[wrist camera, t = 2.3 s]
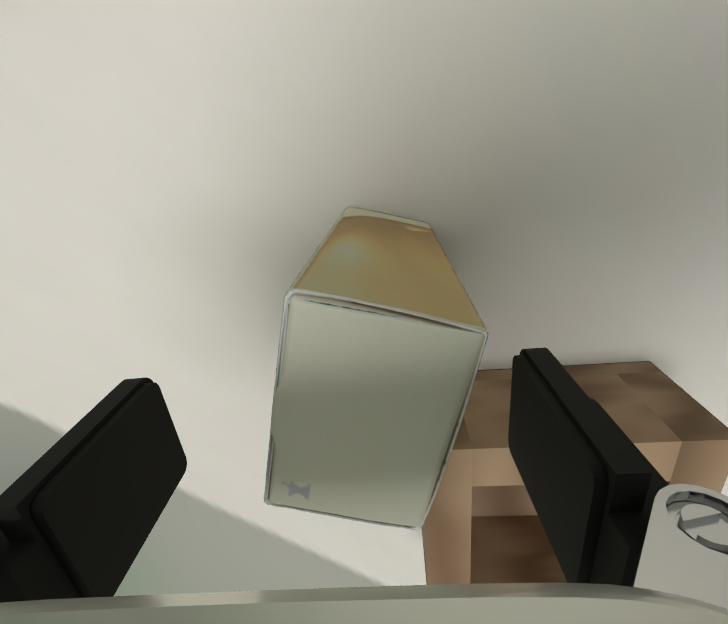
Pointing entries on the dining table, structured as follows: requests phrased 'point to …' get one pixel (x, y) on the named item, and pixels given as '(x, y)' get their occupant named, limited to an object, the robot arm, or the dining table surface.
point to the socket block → (508, 493)
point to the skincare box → (371, 374)
